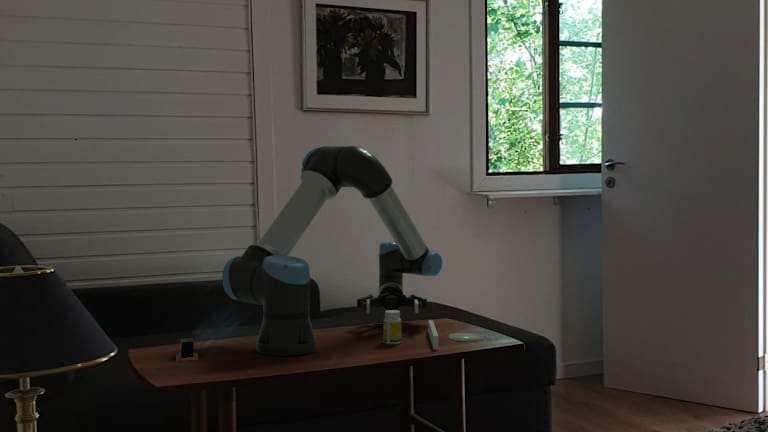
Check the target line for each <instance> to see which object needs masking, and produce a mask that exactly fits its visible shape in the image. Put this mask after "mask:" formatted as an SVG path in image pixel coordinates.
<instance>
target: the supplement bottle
mask: <svg viewBox="0 0 768 432" xmlns="http://www.w3.org/2000/svg"><path fill="white" fill-rule="evenodd" d="M400 317H401V311H400V310H398V309H396V310H385V311H384V318H383V323H382V324H383V327H382V329H383V337H382V338H383V340H382V341H383V343H384V345H385V344H386V345H398V344H401V343H402V318H400Z"/></svg>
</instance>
